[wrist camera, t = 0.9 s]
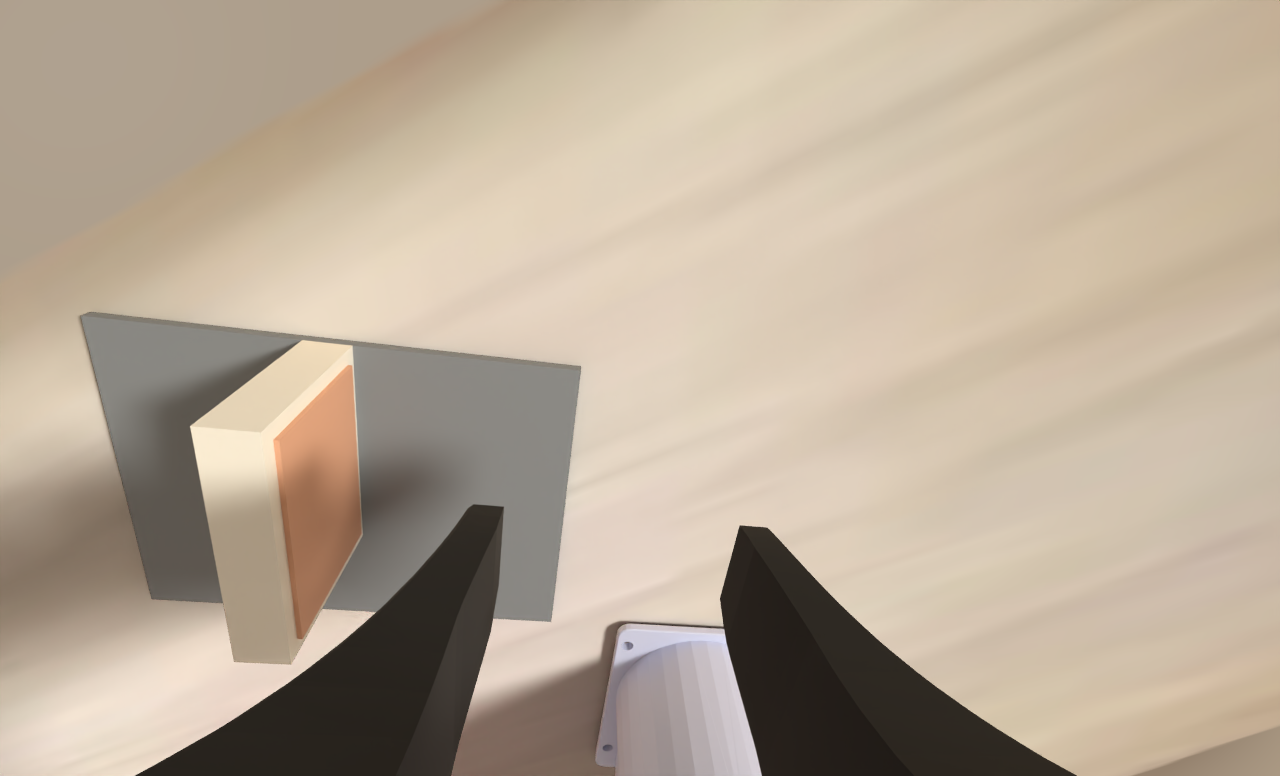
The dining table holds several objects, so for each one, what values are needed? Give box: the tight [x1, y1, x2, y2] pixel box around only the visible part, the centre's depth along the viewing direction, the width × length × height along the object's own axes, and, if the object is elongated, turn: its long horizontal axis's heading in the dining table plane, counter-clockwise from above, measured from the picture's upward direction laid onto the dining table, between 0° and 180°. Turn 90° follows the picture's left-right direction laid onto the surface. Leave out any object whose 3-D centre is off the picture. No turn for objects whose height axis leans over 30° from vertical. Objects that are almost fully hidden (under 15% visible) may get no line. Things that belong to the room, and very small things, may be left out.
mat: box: [81, 312, 581, 622], centre depth 22 cm, size 12×16×1 cm
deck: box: [190, 340, 363, 664], centre depth 19 cm, size 8×2×6 cm, turn 171°
